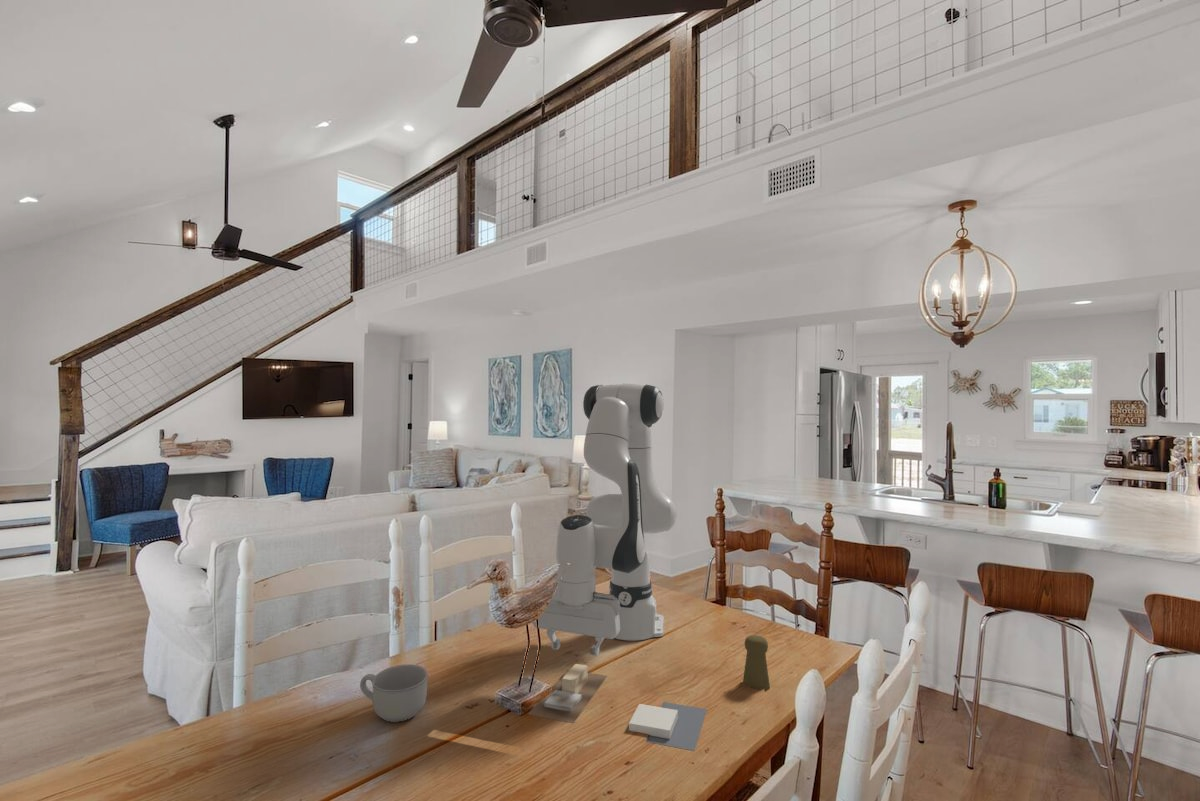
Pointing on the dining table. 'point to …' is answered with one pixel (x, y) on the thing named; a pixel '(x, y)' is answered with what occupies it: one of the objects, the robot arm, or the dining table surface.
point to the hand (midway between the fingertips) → (575, 651)
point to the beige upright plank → (569, 689)
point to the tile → (654, 721)
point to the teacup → (397, 691)
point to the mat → (683, 727)
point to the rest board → (571, 717)
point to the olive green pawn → (756, 663)
